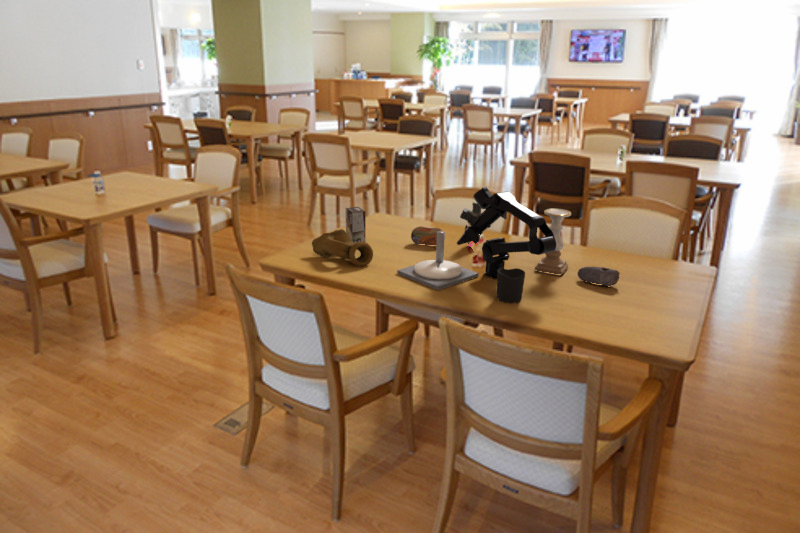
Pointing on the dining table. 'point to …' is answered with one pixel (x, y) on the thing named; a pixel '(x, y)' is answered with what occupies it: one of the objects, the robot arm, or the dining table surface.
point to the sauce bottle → (475, 210)
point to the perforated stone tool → (599, 275)
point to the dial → (438, 264)
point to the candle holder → (552, 259)
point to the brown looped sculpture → (342, 247)
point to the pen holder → (510, 284)
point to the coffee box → (355, 224)
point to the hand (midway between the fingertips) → (457, 244)
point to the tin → (425, 235)
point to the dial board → (437, 283)
